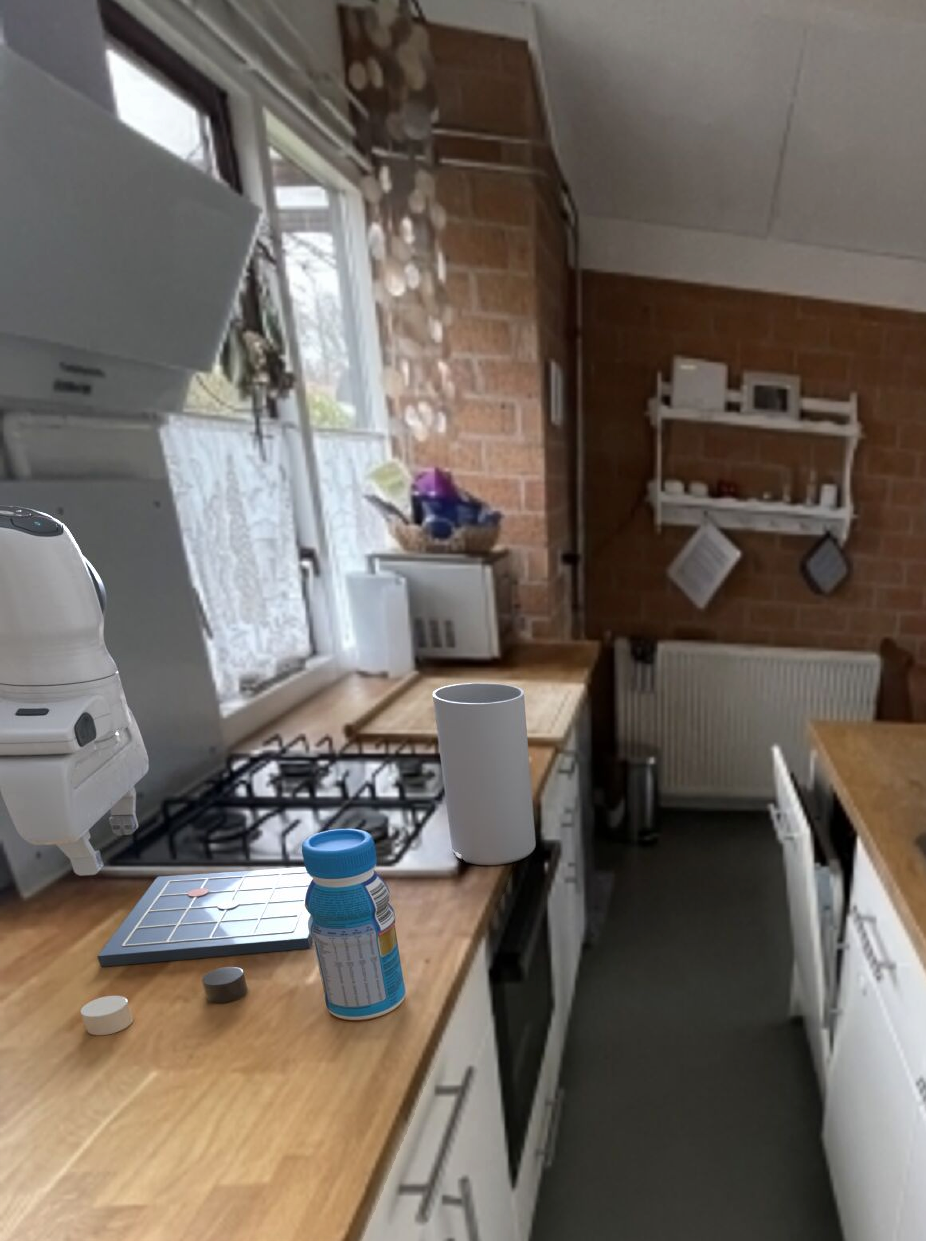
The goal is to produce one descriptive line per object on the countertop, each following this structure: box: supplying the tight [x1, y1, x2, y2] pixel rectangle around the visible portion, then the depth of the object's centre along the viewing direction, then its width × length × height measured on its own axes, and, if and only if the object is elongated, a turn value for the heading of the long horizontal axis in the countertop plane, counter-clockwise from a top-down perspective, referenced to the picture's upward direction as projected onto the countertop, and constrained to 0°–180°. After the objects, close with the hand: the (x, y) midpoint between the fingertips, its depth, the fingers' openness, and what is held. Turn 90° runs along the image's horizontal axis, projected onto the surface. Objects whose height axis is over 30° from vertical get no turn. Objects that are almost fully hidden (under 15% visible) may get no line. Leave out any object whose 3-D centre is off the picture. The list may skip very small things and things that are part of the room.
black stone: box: [201, 966, 249, 1004], centre depth 99 cm, size 4×4×2 cm
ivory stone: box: [79, 995, 134, 1036], centre depth 92 cm, size 4×4×2 cm
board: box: [97, 866, 313, 968], centre depth 115 cm, size 22×22×2 cm
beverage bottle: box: [301, 828, 407, 1021], centre depth 95 cm, size 8×8×20 cm
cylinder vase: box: [432, 682, 537, 866], centre depth 133 cm, size 12×12×25 cm
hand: (109, 851), depth 83 cm, fingers open, 8 cm apart
